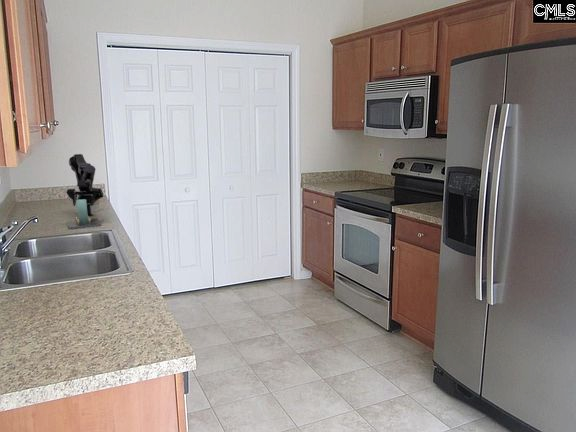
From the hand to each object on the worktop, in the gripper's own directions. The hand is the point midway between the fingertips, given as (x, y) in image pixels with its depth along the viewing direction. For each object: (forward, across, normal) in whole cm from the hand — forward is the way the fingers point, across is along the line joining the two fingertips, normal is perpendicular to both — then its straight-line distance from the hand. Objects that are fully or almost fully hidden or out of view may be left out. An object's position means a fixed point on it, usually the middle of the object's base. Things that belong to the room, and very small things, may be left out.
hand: (82, 205), depth 261 cm
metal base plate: (+9, 0, +6) cm, 11 cm away
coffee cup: (-21, -8, +38) cm, 44 cm away
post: (+8, 0, +6) cm, 10 cm away
